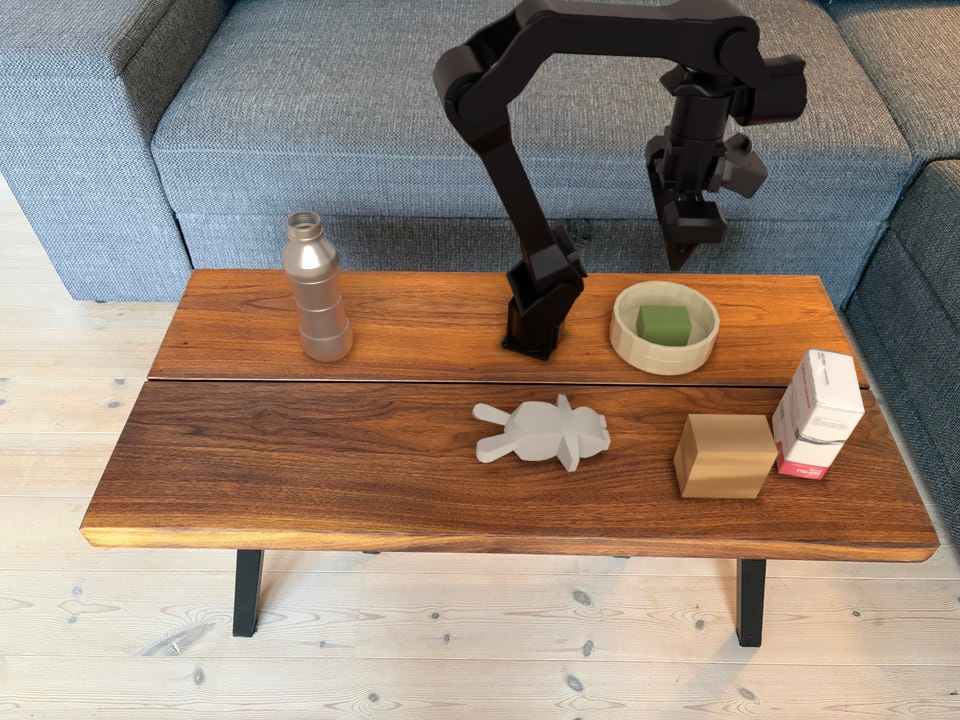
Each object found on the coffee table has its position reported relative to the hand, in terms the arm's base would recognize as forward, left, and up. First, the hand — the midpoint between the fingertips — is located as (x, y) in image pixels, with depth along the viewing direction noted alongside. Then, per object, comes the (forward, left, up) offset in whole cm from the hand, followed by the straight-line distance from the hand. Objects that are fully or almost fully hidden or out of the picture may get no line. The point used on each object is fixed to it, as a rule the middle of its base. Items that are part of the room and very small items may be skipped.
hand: (668, 246), depth 88 cm
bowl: (+2, -3, -12) cm, 13 cm away
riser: (+13, -22, -12) cm, 28 cm away
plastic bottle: (-36, -23, -13) cm, 45 cm away
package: (+2, -3, -12) cm, 12 cm away
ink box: (+21, -14, -13) cm, 28 cm away
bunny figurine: (-6, -26, -13) cm, 29 cm away
